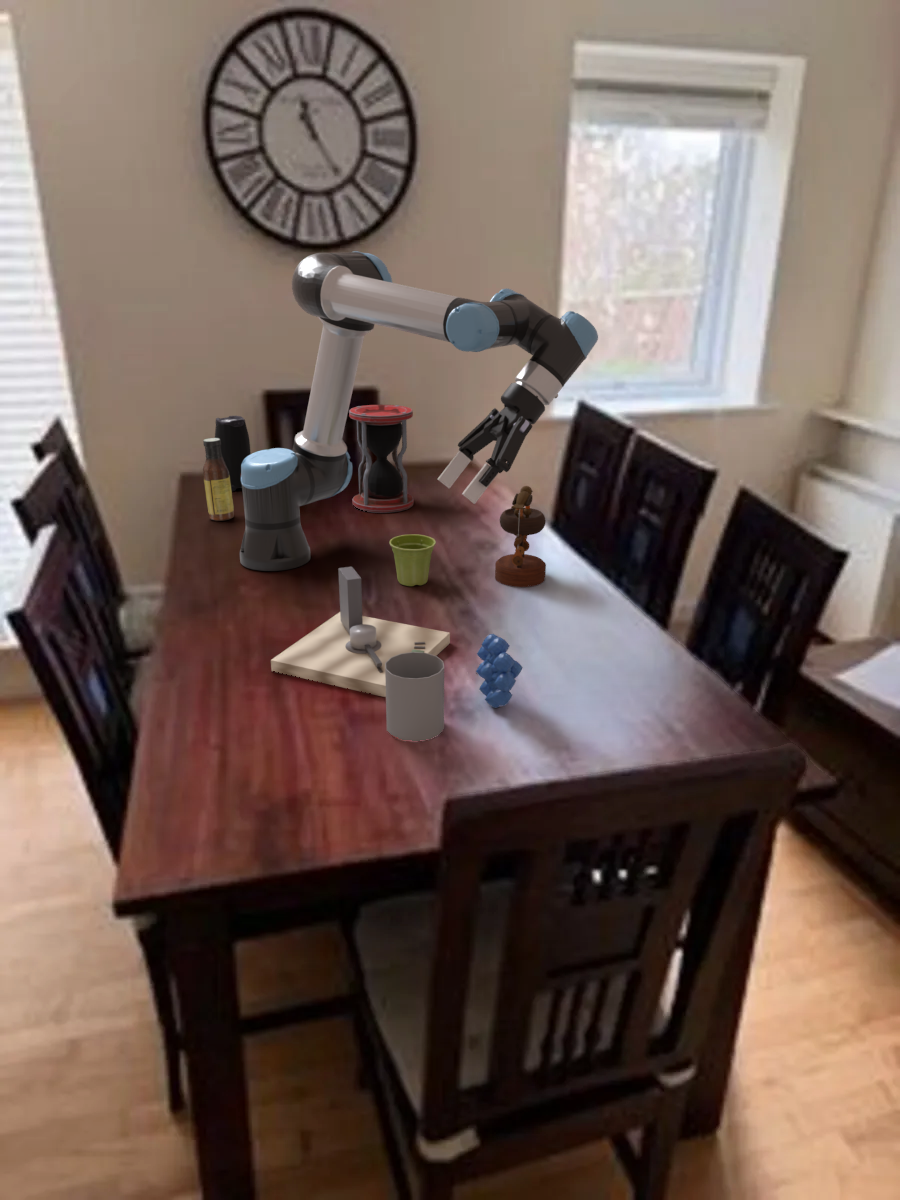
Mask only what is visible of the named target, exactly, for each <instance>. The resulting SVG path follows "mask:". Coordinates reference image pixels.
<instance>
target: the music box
mask: <svg viewBox="0 0 900 1200" xmlns="http://www.w3.org/2000/svg"><path fill="white" fill-rule="evenodd" d="M533 492H534V491H533V490H532V488H531V487H530V486H529V485H524V486H522V487H521V488H520V492H518V493H516V494H514V495H515V496H514V498H513V500H512V502H511V505H512V506H510V507H511V508H508V509H505V510H504V511H503V512H502V513H501V514H500V517H499V525H500V528H502V530H503V531H504V532H506V533H507V534H511V535H514V536H515V537H514V538H515V539H514V542H513V547H514V548H515V552H514V553H513V554H506V555H503V556H501V557H499V559H497V560H496V561H495V565H494V567H495V569H494V579H495V580H496V581H497V582H498V583H499V584H502V585H505V586H507V587H514V588H530V587H536V586H539V585H541V584H543V583H544V582H545V581H546V572H547V569H546V568H547V564H546V562H545V561H544V560H543V559H542V558H540V557H539V556H535V555H532V554H525V552H527V551H528V550H529V549H530V542H528V540H527V539H528V536H531V535H536V534H539V533H540V532H541V531H543V529H544V528H545V526H546V517H545V514H544V513H543V512H542V511H541V510H539V509H536V508H532V507H531V504H532V503H533V495H532V494H533Z"/></svg>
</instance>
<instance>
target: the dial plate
mask: <svg viewBox="0 0 900 1200" xmlns="http://www.w3.org/2000/svg"><path fill="white" fill-rule="evenodd" d="M362 619H363V624H367V625H372V626H374V627H375V628H376V646H374V647H373V648H372V649H373V651H374V652H375V654H376V655H377V656H378V658H379V659H380V661H381V662H382V666H381V667H377V666H376V665H375V663H374V662H373V660H372V659H371V657H370V656H369V654H368V653H367V651H366V650H365V649H355V648H353V647H351V645H350V634H349V633H348V631H347V630H346V628H345V627H344V625H343V624H342V622H341V617H340V611H339V612H337V613H336V614H335V615H334V616H332V617H331V618H329V619H327V620H326V621H325V622H323V623H322V624H321V625H319V626H318V627H316V628H315V629H313V630H311V631H310V632H309V633H308V634H305V636H303V637H302V638H300V639H299V640H297V641H296V642H295V643H293V644H292V645H290V646H289V647H287V648H286V649H285V650H283V651H282V652H281V653H279V654H277V655H275V656H274V657H273V658H272V659H270V668H271V672H273V671H275V672H274V673H278V672H279V673H278V674H282V673H283V675H286V674H287V676H291V675H292V676H291V677H295V676H296V678H299V677H300V679H305V680H308V679H309V680H308V681H312V680H313V681H314V682H317V681H318V683H321V682H322V684H326V685H331V686H334V685H335V687H339V688H343V689H347V688H348V689H349V690H352V691H357V692H361V691H362V692H361V693H365V692H366V693H365V694H369V693H371V694H370V695H375V696H378V697H384V698H386V678H385V663H386V662H387V661H388V660H389V659H390V658H391V657H393V656H396V655H399V654H402V653H410V652H420V653H428V654H431V655H435V656H437V657H438V655H439V654H441V652H442V651H443V650H444V649H445V648H446V647H447V646H449V644H450V642H451V632H448V631H443V630H437V629H432V628H427V627H423V626H417V625H412V624H406V623H402V622H396V621H391V620H386V619H380V618H375V617H369V616H365V615H362ZM313 681H312V682H313ZM348 689H347V690H348Z"/></svg>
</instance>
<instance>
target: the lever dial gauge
mask: <svg viewBox="0 0 900 1200" xmlns="http://www.w3.org/2000/svg"><path fill="white" fill-rule="evenodd" d="M337 570H338V589H339V590H338V591H339V594H338V595H339V606H340V607H339V610H340V611H339V612H340V617H341V622H342V624H343V625H344V627H345V628H346V630H347V631H348V633H349V634H350V645H351V647H353V648H355V649H365V650H366V651H367V653H368V654H369V656H370V657H371V659H372V660H373V662H374V663H375V665H376V666H377V667H381V666H382V662H381V661H380V659H379V658H378V656H377V655H376V654H375V652H374V651H373V649H372V648H373V647H374V646H376V628H375V627H374V626H372V625H367V624H363V619H362V616H363V602H362V601H363V597H362V596H363V595H362V593H363V592H362V591H363V590H362V578H361V575H359V574H358V572H357V571H356V570H355V568H354V567H353V566H345V567H339V568H338V569H337Z"/></svg>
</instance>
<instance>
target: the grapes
mask: <svg viewBox="0 0 900 1200" xmlns="http://www.w3.org/2000/svg"><path fill="white" fill-rule="evenodd" d="M509 648H510V644H509V642H508V641H506V639H504V638H502V637H500V636H499V635H497V634H495V633H489V634H488V635H487V636H486V637H485V638H484V640H483V641H482V643H481V647H479V649H478V651H477V653H476V655H477V656H478V657H479V659H480V660H482V662H481V663H480V664H479V666H478V667H477V669H476V671H475V672H476V674H477V675H479V677H480V678H482V679H483V682H482V683H481V685H480V687H479V688H478V690H479V691H480V692H481V693H482V695H484V696H486V697H485V698H484V701H485V702H486V703H487V704H488V705H489V706H491V707H492V708H494V709H495V708H497V709H498V708H500V707H505V706H506V705H508V704H509V702H510V701H511V699H512V697H513V694H512V692H511V690H512V688H513V687H514V686H515V684H516V682H517V680H516V679H517V678H518V677H519V675H520V674H521V673H522V670H523V669H524V668H523V666H522V665H521V664H520V663H519V661H517V660H515V659H514V658H513V657H512V655H510V654H508V653H507V651H508V650H509Z"/></svg>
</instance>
